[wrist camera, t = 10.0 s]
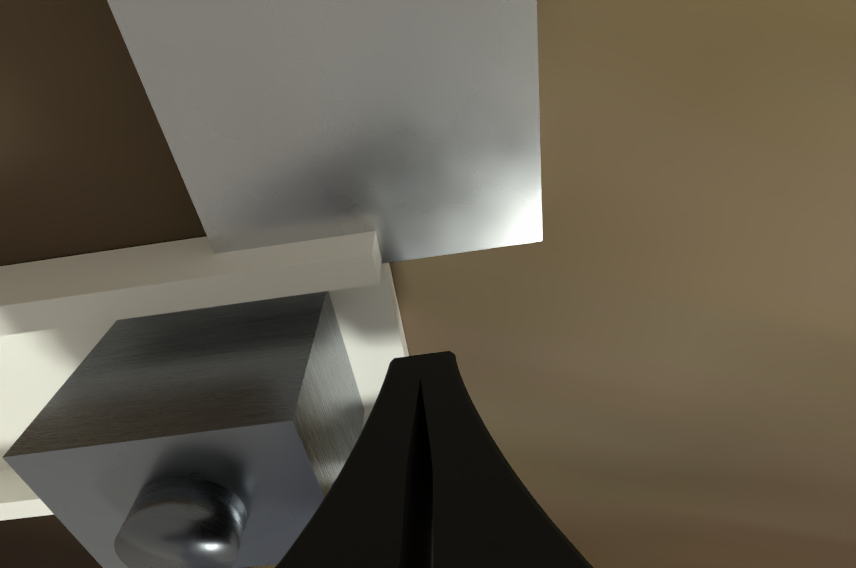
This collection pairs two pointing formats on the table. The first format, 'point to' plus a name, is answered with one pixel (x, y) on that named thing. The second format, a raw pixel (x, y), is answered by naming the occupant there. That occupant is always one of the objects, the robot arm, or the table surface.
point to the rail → (172, 292)
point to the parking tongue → (348, 118)
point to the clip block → (198, 434)
